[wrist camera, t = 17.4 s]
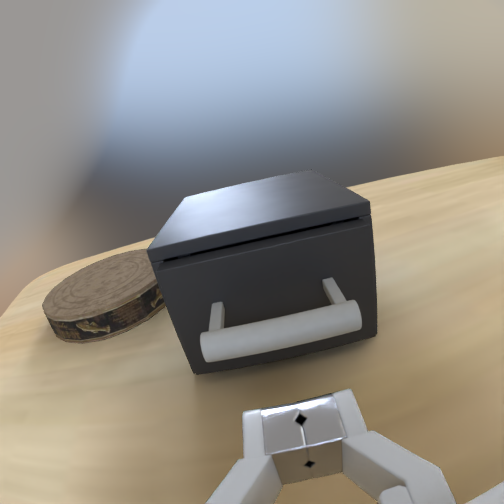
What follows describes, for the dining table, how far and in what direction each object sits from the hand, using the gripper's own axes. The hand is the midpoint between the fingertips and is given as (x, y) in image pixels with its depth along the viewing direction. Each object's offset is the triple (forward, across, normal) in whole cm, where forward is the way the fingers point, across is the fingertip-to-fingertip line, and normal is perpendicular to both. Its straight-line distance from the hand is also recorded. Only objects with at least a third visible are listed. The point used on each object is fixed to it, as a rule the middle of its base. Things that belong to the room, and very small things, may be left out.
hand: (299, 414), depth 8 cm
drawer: (+14, 0, +6) cm, 15 cm away
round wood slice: (+24, +18, +7) cm, 31 cm away
